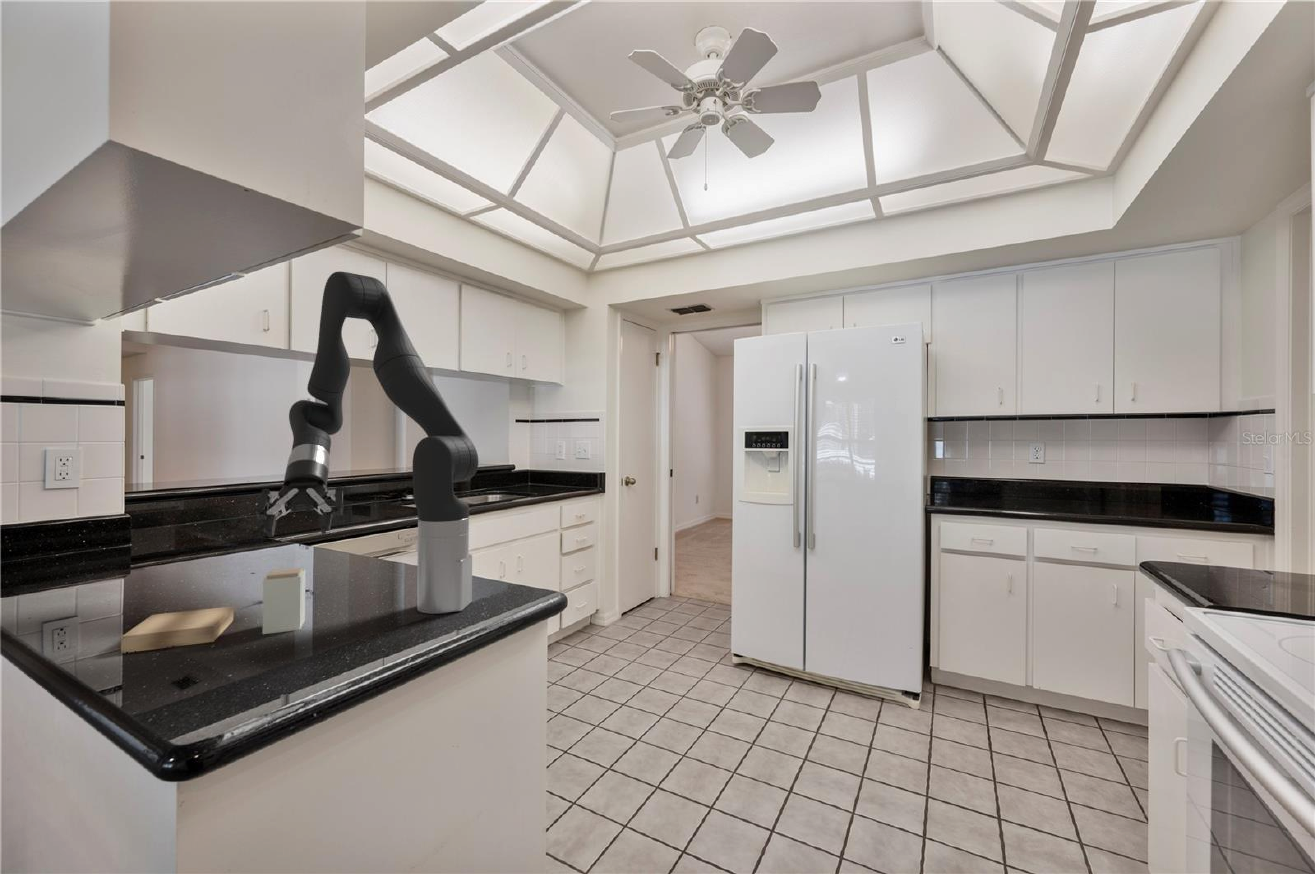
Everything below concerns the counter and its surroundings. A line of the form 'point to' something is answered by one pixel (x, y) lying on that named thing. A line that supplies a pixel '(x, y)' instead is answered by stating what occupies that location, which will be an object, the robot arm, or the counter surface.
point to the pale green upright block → (284, 600)
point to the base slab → (177, 629)
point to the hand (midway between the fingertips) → (297, 532)
